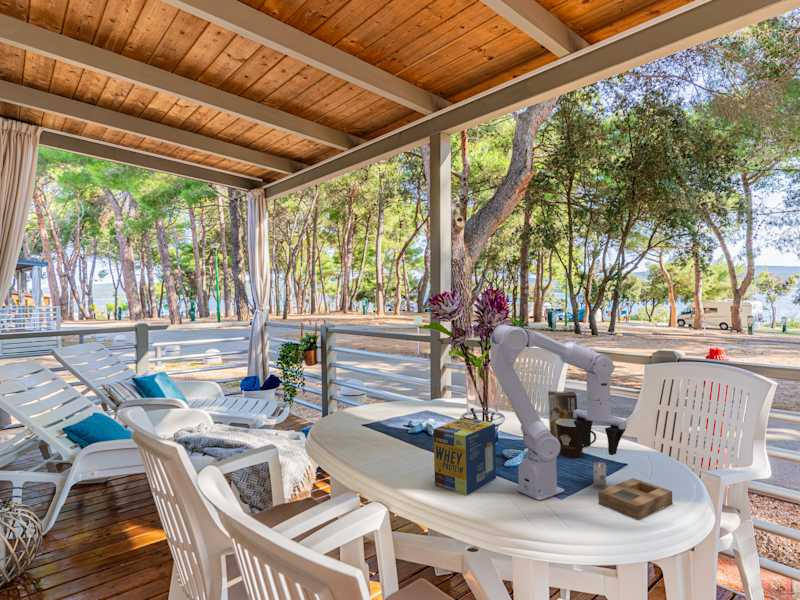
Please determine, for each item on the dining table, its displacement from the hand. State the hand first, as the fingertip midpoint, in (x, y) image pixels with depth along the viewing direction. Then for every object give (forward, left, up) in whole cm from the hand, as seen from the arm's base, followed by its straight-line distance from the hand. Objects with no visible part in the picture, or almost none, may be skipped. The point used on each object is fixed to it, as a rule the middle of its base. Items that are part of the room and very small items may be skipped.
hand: (599, 450), depth 126 cm
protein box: (-27, +23, -10) cm, 36 cm away
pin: (-1, 0, -9) cm, 9 cm away
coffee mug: (+13, +19, -10) cm, 25 cm away
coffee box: (+24, +32, -10) cm, 41 cm away
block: (-3, -11, -9) cm, 15 cm away
